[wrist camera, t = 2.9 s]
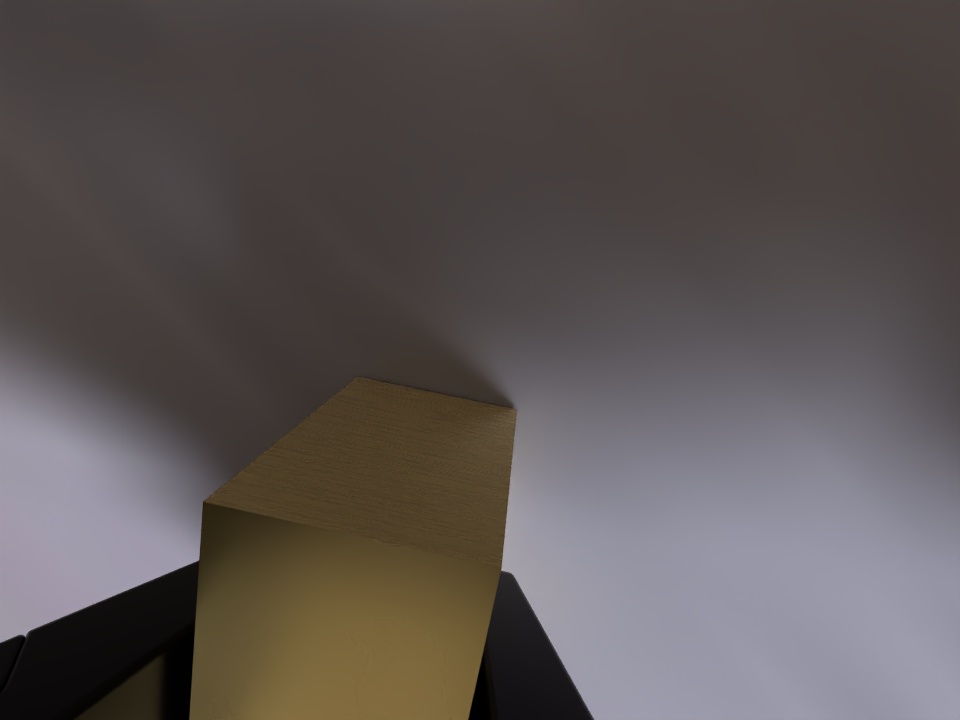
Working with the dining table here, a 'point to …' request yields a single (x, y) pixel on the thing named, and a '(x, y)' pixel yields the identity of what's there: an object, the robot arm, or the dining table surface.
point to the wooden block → (356, 562)
